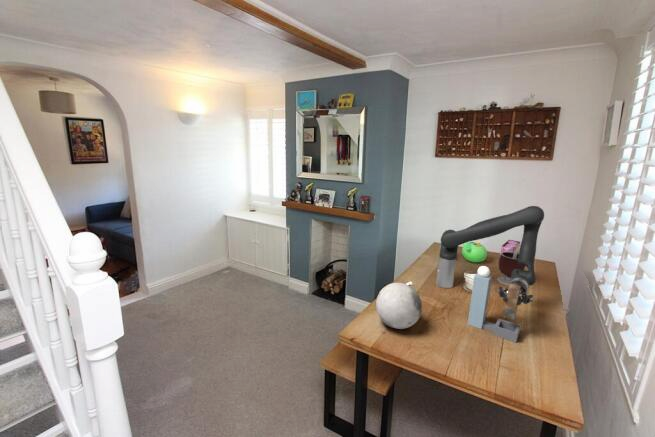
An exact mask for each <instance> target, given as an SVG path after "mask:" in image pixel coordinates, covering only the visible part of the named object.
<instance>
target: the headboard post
mask: <svg viewBox="0 0 655 437" xmlns="http://www.w3.org/2000/svg"><path fill="white" fill-rule="evenodd" d="M492 278H493V275H491V271H490V268H489V267H488V266H485V265H481V266H479V268H478V269H477V272H476V274H475V275H474V277H473V284H472V291H471V298H470V304H469V313H468V320H467V325H469V326H472V327H475V328H478V329H479V330H482V329H484V330H486V331H490V332H493V333H492V335H493V336H496V337H498V338H502V339H505V340H508V341H510V342H513V343H517V341H518V338H519V335H520V330H521V324H517V323H515V322H512V321H508V320H505V319H502V318H497V321H496V322H495V323H493V322H491V321H488V320H486V317H487V310H488V305H489V304H488V303H489V298H490V290H491V284H492Z"/></svg>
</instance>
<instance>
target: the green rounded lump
mask: <svg viewBox="0 0 655 437" xmlns="http://www.w3.org/2000/svg"><path fill="white" fill-rule="evenodd" d="M462 245H463V246H462V248H461V255H462V256H463V257H464V259H466V261H468V262H470V263H481V262H483V261H484V260H485V259H487V257H488V251H487V249H486V247H485V246H484V245H483V244H481V242H480V241H476V242H475V241H470V242H466V243H464V244H462Z"/></svg>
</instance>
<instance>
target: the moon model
mask: <svg viewBox="0 0 655 437" xmlns="http://www.w3.org/2000/svg"><path fill="white" fill-rule="evenodd" d="M376 297H377V298H376V299H375V300H376V301H375V302H376V303H375V305H376V306H375V307H376V312H377V315H378V317H379V318H380V320H381V321H382V322H383V323H384V324H385V325H387V326H388V327H390V328H393V329H397V330H398V329H399V330H403V329H407V328H410V327H412V326H414V325H415V323H417V322H418V321H419V318H420V317H421V314H422V311H423V310H422V309H423V306H422V304H423V303H422V300H421V297H420V295H419V293H418V292H417V291H416V290H415V288H414V287H410V286H409V285H407V283H403V282H391V283H389V284H387V285H386V286H384V287H383V288H382V289H381V290H380V291H379V293H378V295H377V296H376Z"/></svg>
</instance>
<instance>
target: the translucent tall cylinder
mask: <svg viewBox="0 0 655 437" xmlns="http://www.w3.org/2000/svg"><path fill="white" fill-rule="evenodd" d="M508 286H509V287H508ZM508 286H507V287H508V292H507V300H506V302H505V306H504V312H503V317H504V318H506V319H507V318H508V319H511V320H515V318H516V315H517V310H518V306H517V305H516V303H517V300H518V298H519V293H520V288H521V286H518V285H514V284H510V285H508Z"/></svg>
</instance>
